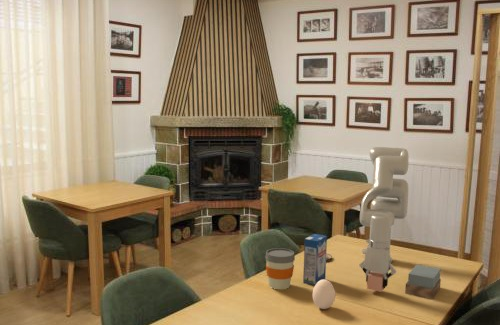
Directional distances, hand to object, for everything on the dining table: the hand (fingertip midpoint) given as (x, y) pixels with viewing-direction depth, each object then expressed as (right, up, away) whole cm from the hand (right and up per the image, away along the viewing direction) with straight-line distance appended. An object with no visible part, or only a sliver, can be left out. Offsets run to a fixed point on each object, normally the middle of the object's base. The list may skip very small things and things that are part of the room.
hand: (376, 285), depth 205 cm
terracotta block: (0, -1, 0) cm, 1 cm away
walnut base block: (+21, -4, +3) cm, 21 cm away
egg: (-25, -5, -16) cm, 30 cm away
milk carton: (-25, -1, +12) cm, 27 cm away
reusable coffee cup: (-40, -2, +5) cm, 41 cm away
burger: (-18, +2, +43) cm, 46 cm away
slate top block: (+21, +1, +3) cm, 21 cm away
